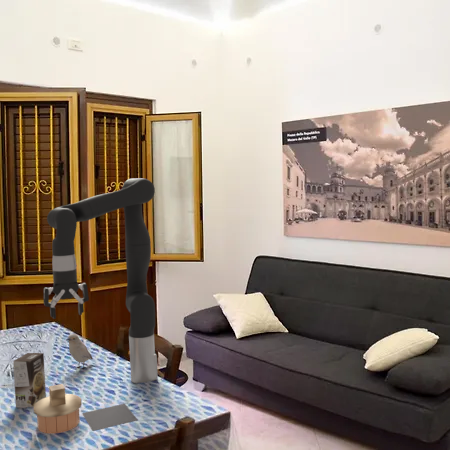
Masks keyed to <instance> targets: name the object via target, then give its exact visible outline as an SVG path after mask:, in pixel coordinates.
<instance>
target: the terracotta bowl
mask: <svg viewBox="0 0 450 450" xmlns="http://www.w3.org/2000/svg"><path fill="white" fill-rule="evenodd" d="M80 420H81V419H80V408H79V409H78V410H76V411H74V412H72V413H70V414H66V415H63V416H57V417H42V416H38V415H36V421H37V429H38V431H39V432H42V433H44V434H60V433H65V432H68V431H71V430H73V429H75V428H76V427H77V426H78V425H79V423H80V422H81V421H80Z"/></svg>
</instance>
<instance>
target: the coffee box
mask: <svg viewBox="0 0 450 450" xmlns="http://www.w3.org/2000/svg"><path fill="white" fill-rule="evenodd" d="M12 362H13V363H12V365H13V379H14V383H13V384H14V398H15V400H14V401H15V408H19V409H20V408H22V409H28V408H34V404H35V403H36V402H38V401H39V400H41V399H43V398H46V397H47V392H46V391H47V389H46V377H45V376H46V374H45V373H46V372H45V371H46V370H45V355H44V353H43V352H26V353H25V354H23V355H22V356H20V357H18V358H16V359H15V360H13V361H12Z"/></svg>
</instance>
